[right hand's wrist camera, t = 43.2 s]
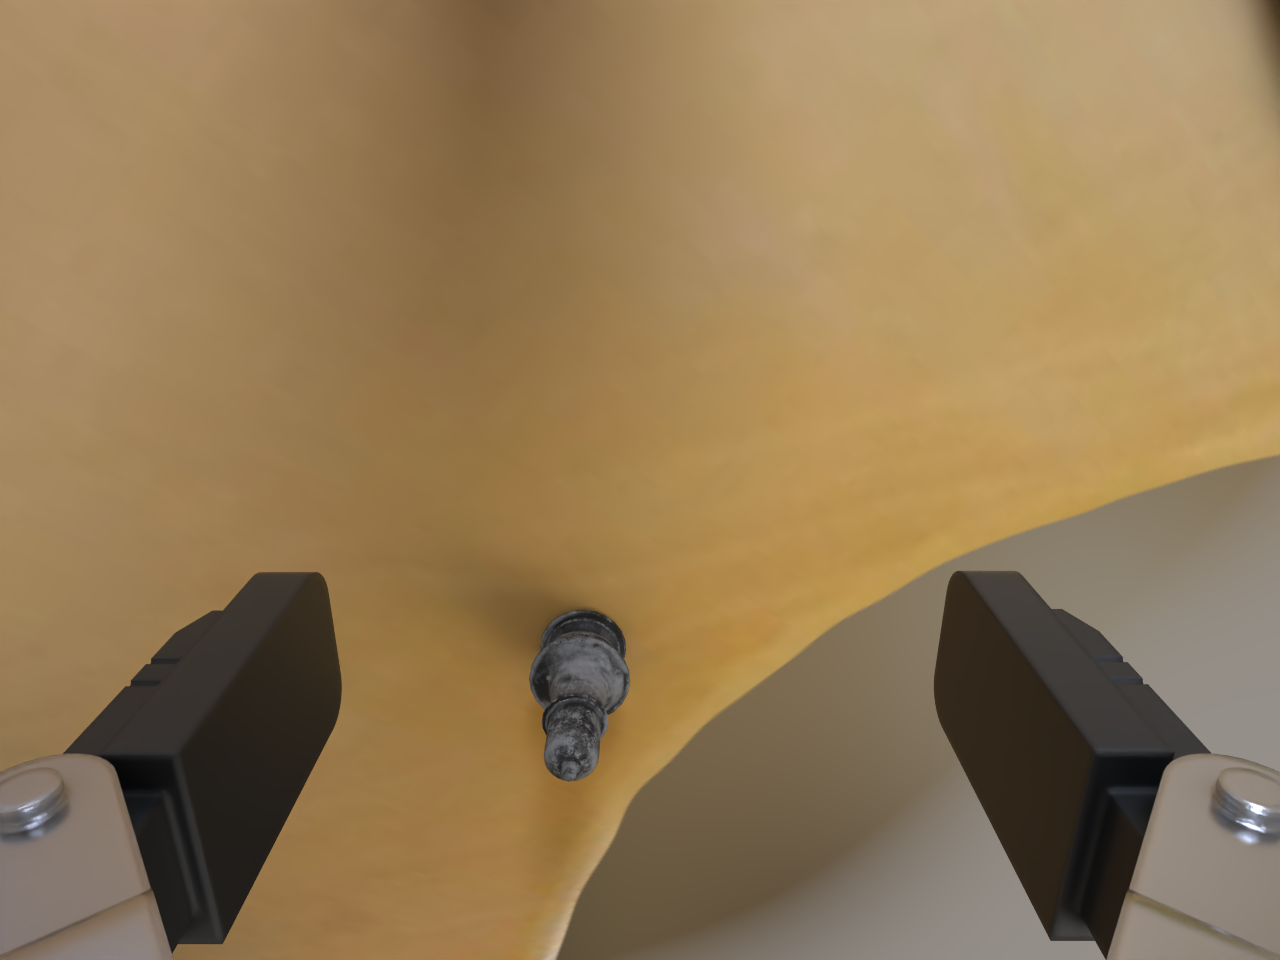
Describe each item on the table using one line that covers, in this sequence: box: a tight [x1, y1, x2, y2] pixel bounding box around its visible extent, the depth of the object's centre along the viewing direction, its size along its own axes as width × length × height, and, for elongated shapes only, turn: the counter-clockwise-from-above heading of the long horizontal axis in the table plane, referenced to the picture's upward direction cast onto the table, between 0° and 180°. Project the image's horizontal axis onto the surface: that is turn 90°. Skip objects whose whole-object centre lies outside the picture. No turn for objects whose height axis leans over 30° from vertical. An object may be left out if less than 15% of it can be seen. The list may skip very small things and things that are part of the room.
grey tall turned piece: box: [529, 610, 630, 781], centre depth 49 cm, size 6×6×12 cm
